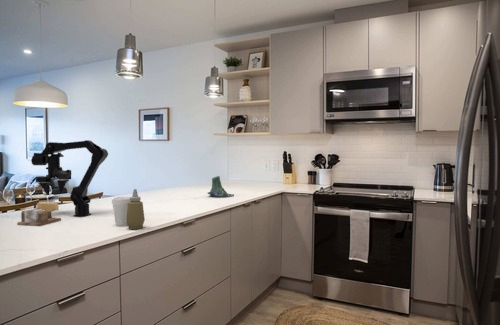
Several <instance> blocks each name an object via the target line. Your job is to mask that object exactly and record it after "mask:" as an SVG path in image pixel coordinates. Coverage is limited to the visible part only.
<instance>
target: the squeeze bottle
mask: <svg viewBox="0 0 500 325" xmlns="http://www.w3.org/2000/svg"><path fill="white" fill-rule="evenodd" d="M129 197H130V201H131V202H129V203H128V207H127V219H126V222H127V227H128V229H129V230H139V229H142V228H143V227H144V223H145V213H144V212H145V211H144V210H145V209H144V204H143V203H144V202H143V201H142V200H141V196H139V193H138V190H137V189H136V188H134V189H133V192H132V196H129Z"/></svg>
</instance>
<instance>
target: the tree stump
mask: <svg viewBox="0 0 500 325" xmlns="http://www.w3.org/2000/svg"><path fill="white" fill-rule="evenodd" d="M211 181H212V182H211V188H210V191H209V192H206V194H208V195H210V197H213V198H223V199H224V198H233V197H235V194H234V193H229V192H227V191H226V190H225V188H224V187H223V186H222V182H221V177H220V176H219V175H217V176H214V177H212V179H211Z"/></svg>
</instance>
